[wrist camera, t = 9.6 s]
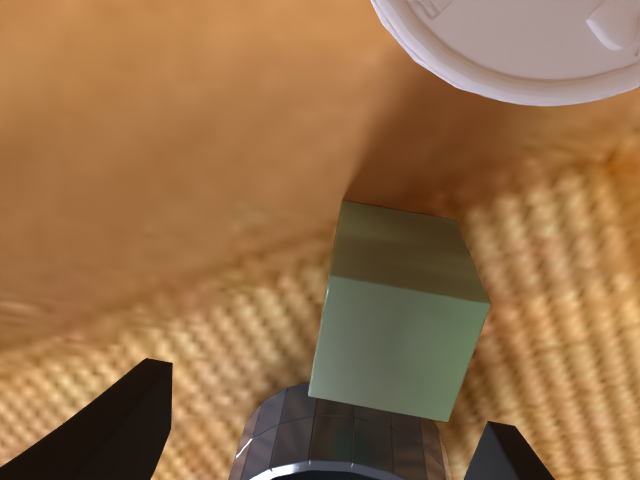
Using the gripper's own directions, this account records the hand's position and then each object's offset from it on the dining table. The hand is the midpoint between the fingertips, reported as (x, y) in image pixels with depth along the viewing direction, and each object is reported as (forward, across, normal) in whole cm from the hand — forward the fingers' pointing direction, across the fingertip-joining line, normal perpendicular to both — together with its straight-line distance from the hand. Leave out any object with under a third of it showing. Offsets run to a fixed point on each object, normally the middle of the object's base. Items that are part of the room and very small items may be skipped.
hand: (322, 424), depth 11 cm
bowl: (+9, -2, +11) cm, 15 cm away
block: (+9, -2, 0) cm, 10 cm away
